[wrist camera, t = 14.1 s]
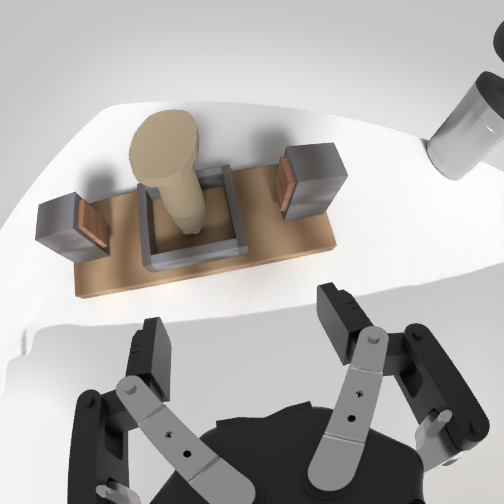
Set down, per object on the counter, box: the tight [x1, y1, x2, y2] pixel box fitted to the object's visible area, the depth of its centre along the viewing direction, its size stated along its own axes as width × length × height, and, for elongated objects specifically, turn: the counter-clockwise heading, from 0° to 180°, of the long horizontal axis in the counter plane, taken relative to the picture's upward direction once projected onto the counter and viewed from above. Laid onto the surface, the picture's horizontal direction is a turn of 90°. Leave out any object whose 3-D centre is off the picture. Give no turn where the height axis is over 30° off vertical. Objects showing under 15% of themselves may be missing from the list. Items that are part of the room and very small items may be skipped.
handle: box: [129, 110, 207, 235], centre depth 25 cm, size 5×6×15 cm
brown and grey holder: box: [35, 143, 348, 299], centre depth 29 cm, size 32×12×11 cm, turn 102°
